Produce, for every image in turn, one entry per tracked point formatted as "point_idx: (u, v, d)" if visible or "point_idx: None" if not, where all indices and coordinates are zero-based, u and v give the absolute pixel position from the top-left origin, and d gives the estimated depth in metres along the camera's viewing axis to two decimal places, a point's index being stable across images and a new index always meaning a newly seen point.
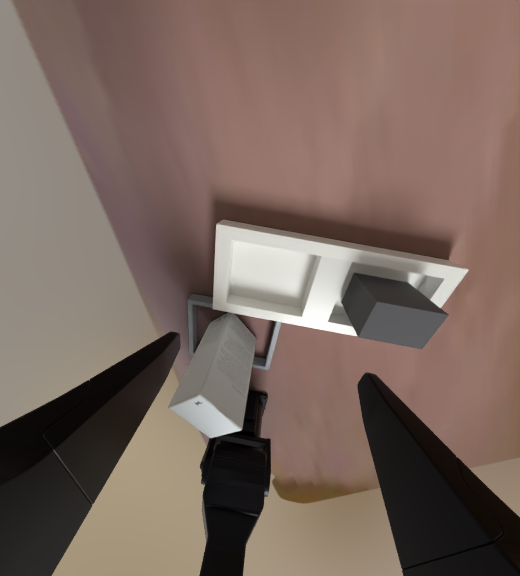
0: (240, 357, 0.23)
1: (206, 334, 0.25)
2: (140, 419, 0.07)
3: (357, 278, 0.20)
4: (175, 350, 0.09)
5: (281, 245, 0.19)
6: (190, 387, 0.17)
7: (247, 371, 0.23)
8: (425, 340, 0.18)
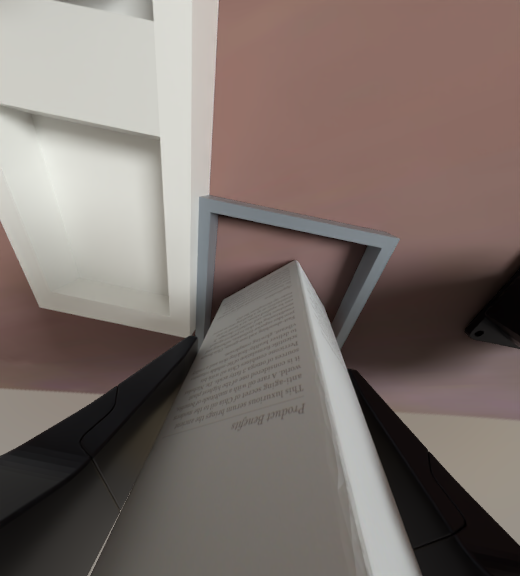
0: (254, 328, 0.08)
1: None
2: None
3: None
4: (194, 354, 0.09)
5: (10, 205, 0.10)
6: None
7: (291, 324, 0.07)
8: None
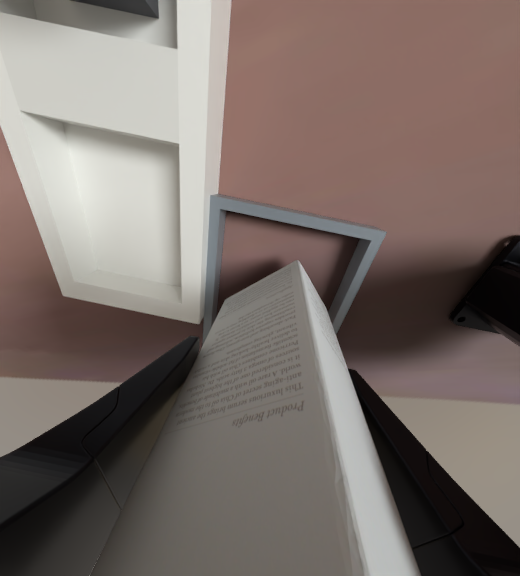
0: (255, 328, 0.08)
1: None
2: None
3: None
4: (195, 354, 0.09)
5: (43, 202, 0.11)
6: None
7: (291, 324, 0.07)
8: None
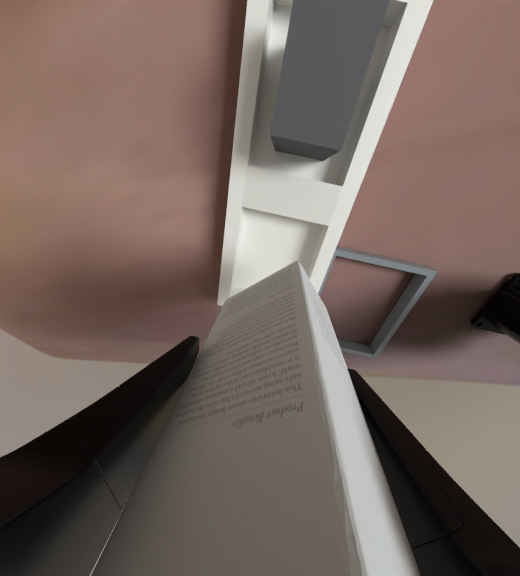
0: (255, 328, 0.08)
1: None
2: (164, 424, 0.07)
3: (275, 148, 0.15)
4: (195, 354, 0.09)
5: (232, 251, 0.18)
6: None
7: (291, 325, 0.07)
8: None
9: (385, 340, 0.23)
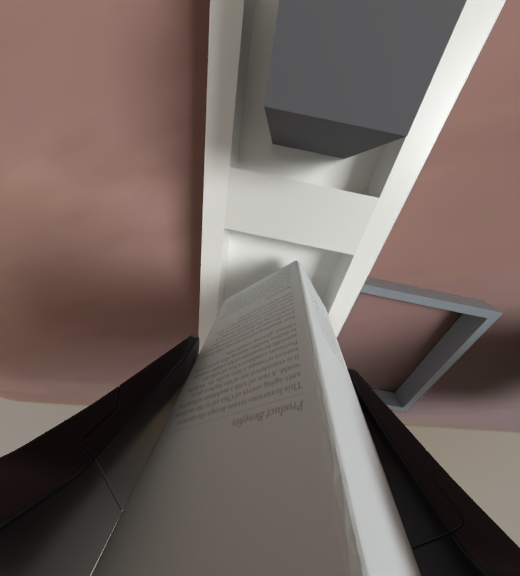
0: (255, 328, 0.08)
1: None
2: (164, 424, 0.07)
3: (274, 140, 0.09)
4: (195, 354, 0.09)
5: (213, 288, 0.13)
6: None
7: (291, 324, 0.07)
8: None
9: (419, 392, 0.17)
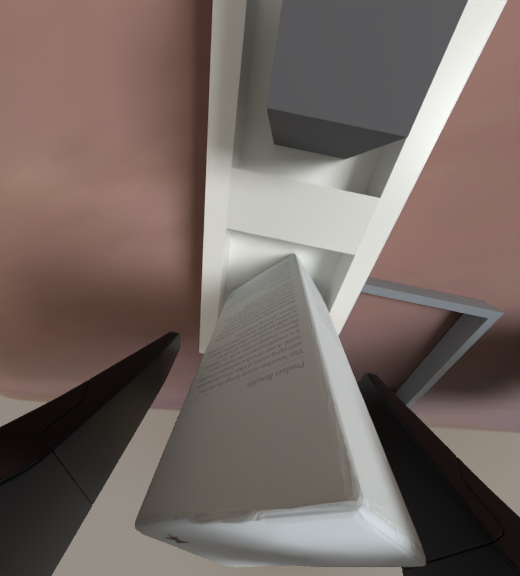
0: (260, 313, 0.09)
1: None
2: (140, 419, 0.07)
3: (275, 140, 0.10)
4: (175, 350, 0.09)
5: (215, 287, 0.13)
6: None
7: (292, 306, 0.08)
8: None
9: (420, 392, 0.17)
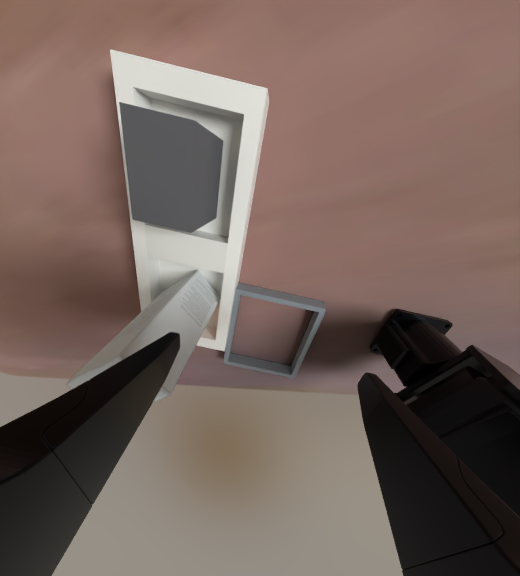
0: (156, 305, 0.17)
1: None
2: (140, 419, 0.07)
3: None
4: (175, 350, 0.09)
5: (147, 290, 0.21)
6: None
7: (164, 302, 0.16)
8: (175, 122, 0.10)
9: (298, 363, 0.25)
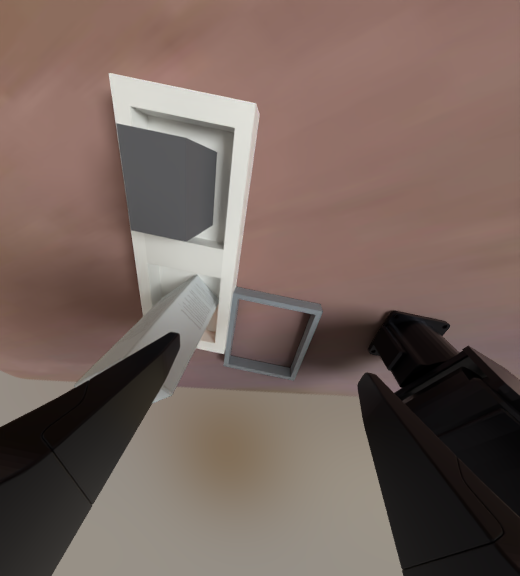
0: (157, 309, 0.18)
1: None
2: (140, 419, 0.07)
3: None
4: (175, 350, 0.09)
5: (148, 296, 0.21)
6: None
7: (165, 306, 0.17)
8: (168, 139, 0.11)
9: (297, 365, 0.26)
